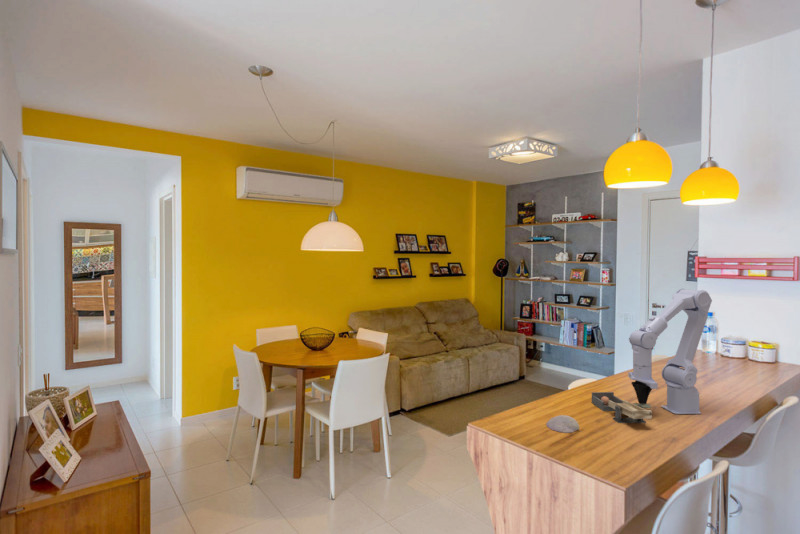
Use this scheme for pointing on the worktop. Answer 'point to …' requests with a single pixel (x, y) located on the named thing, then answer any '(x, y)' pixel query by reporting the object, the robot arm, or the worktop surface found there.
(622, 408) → the lever
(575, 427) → the seashell
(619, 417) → the pivot stand
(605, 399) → the ball
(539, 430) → the worktop surface
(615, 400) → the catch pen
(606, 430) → the worktop surface
